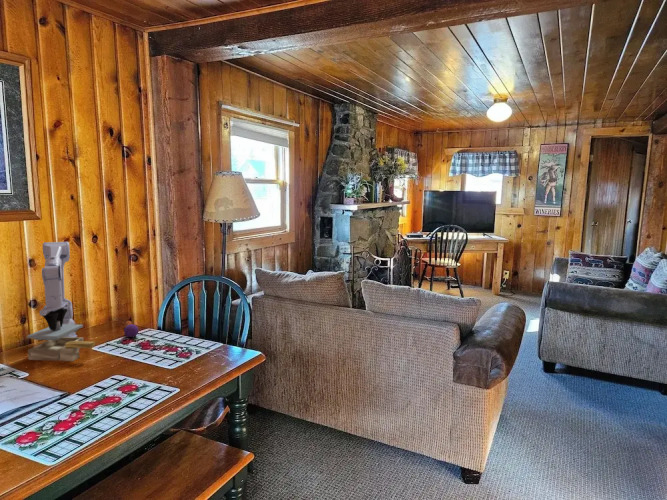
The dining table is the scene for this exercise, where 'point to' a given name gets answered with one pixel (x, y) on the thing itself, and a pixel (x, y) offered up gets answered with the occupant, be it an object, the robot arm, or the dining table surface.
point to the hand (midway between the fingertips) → (56, 328)
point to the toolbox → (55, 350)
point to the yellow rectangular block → (80, 344)
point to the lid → (55, 332)
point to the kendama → (130, 329)
